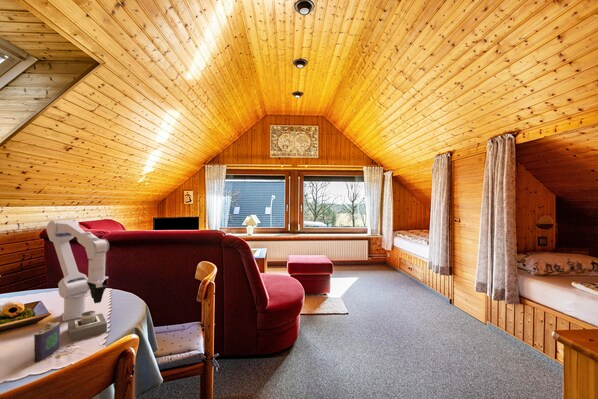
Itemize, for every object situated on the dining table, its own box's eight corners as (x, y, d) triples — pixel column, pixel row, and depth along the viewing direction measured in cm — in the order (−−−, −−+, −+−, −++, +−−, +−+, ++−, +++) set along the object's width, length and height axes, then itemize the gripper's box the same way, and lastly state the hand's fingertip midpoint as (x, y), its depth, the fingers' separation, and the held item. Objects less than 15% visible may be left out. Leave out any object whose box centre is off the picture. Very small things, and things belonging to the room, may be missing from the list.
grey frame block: (67, 329, 105) (68, 320, 105) (101, 321, 113) (102, 312, 113) (70, 341, 97) (70, 331, 97) (106, 331, 104) (106, 322, 104)
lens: (79, 330, 105) (80, 312, 105) (93, 326, 108) (94, 309, 108) (81, 334, 102) (82, 316, 102) (96, 330, 105) (96, 313, 105)
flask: (53, 346, 93) (54, 316, 93) (63, 346, 94) (63, 316, 94) (31, 363, 84) (32, 329, 84) (41, 362, 84) (42, 329, 84)
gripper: (111, 270, 110) (110, 302, 110) (105, 263, 120) (104, 293, 120) (90, 273, 105) (89, 307, 105) (85, 266, 115) (85, 296, 115)
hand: (96, 300), depth 112 cm, fingers open, 7 cm apart
